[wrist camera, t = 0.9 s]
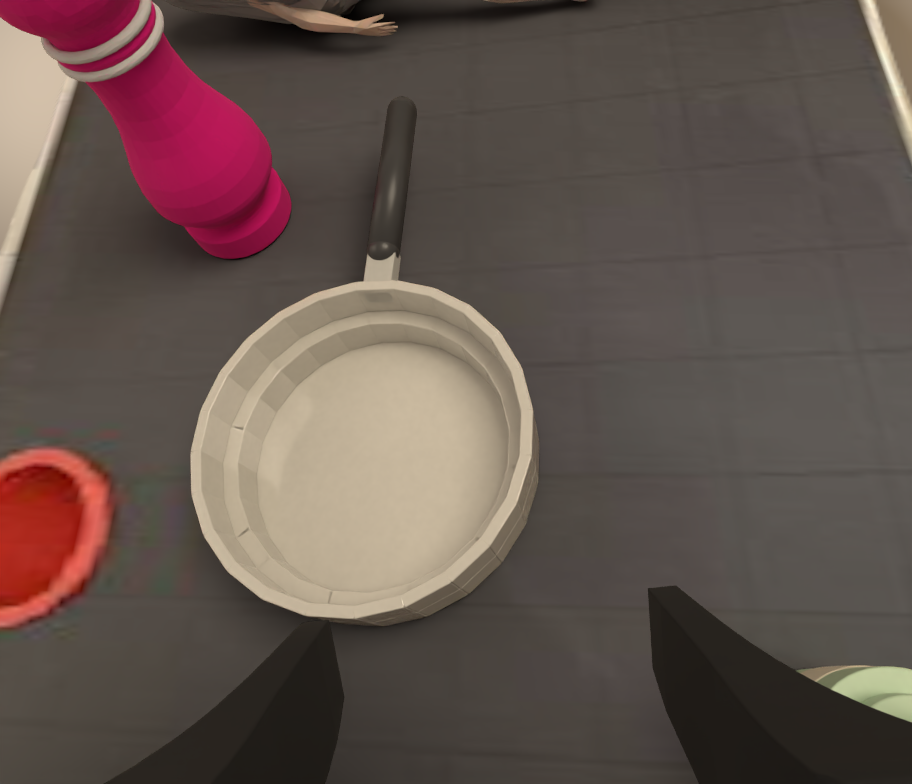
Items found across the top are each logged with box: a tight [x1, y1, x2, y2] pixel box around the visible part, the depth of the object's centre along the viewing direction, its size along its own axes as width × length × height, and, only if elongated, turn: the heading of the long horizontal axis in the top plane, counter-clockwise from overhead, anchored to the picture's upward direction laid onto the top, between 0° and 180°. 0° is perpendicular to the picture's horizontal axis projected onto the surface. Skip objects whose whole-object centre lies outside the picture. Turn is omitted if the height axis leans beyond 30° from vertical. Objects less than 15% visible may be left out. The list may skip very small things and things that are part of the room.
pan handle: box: [363, 96, 417, 303], centre depth 33 cm, size 12×2×2 cm, turn 176°
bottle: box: [796, 665, 912, 722], centre depth 19 cm, size 5×5×10 cm
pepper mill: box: [0, 0, 291, 259], centre depth 31 cm, size 7×7×20 cm
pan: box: [191, 280, 539, 626], centre depth 30 cm, size 15×15×4 cm
